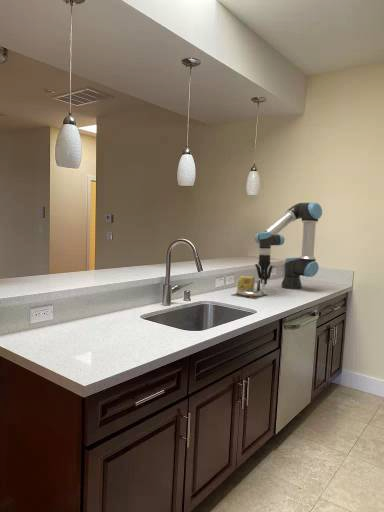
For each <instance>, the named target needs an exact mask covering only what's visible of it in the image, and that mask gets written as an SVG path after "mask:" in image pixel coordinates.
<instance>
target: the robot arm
mask: <svg viewBox="0 0 384 512" xmlns="http://www.w3.org/2000/svg"><path fill="white" fill-rule="evenodd" d="M322 216H323V208H322V206H321V204H319V203H318V202H299V203H296V204H294V205H292V206H291V207H290V208H288V209H287V210H286V211H285V212H284V214H283V215H282V216H280V217H279V218H278V219H277V220H276V221H275V222H274V223H272V224H271V225H270V226H269V227H267V228H266V229H265V230H264V231H261V232H259V233H257V234H255V236H254V241H255V243H256V244H259V245H258V246H259V247H258V249H259V251H258V254H259V255H258V263H255V268H256V271H257V277H258V279H259V280H260V285H262V287H261V289H262V290H265V289H266V285H267V284H268V280H270V278H271V274H272V272H273V271H272V270H273V268H274V267H275V266H274V265H273V264H272V263H271V248H272V247H271V246H282V245H284V243H285V240H286V239H285V235H283V234H280V232H281V231H282V230H283V229H285V228H286V227H288V225H290V224H291V223H292V222H295V221H297V220H299V219H301V222H302V224H303V226H302V240H301V241H302V242H301V243H302V244H301V256H300V257H287V258H285V260H284V261H285V262H284V272H283V273H284V275H283V280H282V282H281V288H284V289H289V290H300V289H302V287H303V284H302V282H301V276H302V277H306V278H311V277H315V276H316V275H317V274H318V272H319V264H318V262H317V261H316V258H315V256H314V255H315V241H316V224H317V223H318V222H319V219H321V217H322Z"/></svg>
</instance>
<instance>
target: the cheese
mask: <svg viewBox="0 0 384 512" xmlns="http://www.w3.org/2000/svg"><path fill="white" fill-rule="evenodd" d="M255 281H256V280H255V276H247V275H240V276H239V277H238V280H237V290H238V289H255ZM237 290H236V291H237Z"/></svg>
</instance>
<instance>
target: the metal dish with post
mask: <svg viewBox="0 0 384 512" xmlns="http://www.w3.org/2000/svg"><path fill="white" fill-rule="evenodd" d="M256 283H257V285H256V288H254V289H238V290H236V293H237V294H238V295H242V296H251V297H257V296H263V294H265V293H264V290H263V289H262V290H261V279H257V282H256ZM263 297H264V296H263Z"/></svg>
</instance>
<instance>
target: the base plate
mask: <svg viewBox="0 0 384 512" xmlns="http://www.w3.org/2000/svg"><path fill="white" fill-rule="evenodd" d="M268 295H269V294H268V293H267V294H266V293H263V296H257V297H251V296H242V295H238V294H237V292H236V293H233V294H231V296H234V297H240V298H246V299H250V300H257V299H260V298H263V297H267V296H268Z"/></svg>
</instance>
